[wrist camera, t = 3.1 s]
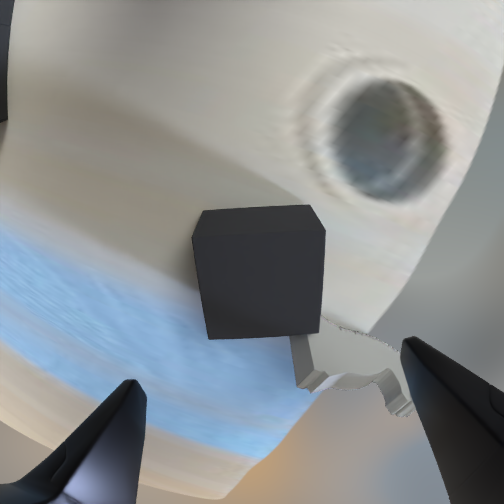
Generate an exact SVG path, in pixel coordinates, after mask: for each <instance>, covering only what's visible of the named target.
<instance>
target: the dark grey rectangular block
mask: <svg viewBox="0 0 504 504" xmlns="http://www.w3.org/2000/svg"><path fill="white" fill-rule="evenodd" d="M325 236H326V230H325V228H324V226H323V225H322V223H321V222H320V220H319V218H318V217H317V215H316V214H315V212H314V210H313V209H312V207H311V206H310V205H289V206H269V207H251V208H234V209H219V210H205V211H203V212H202V215H201V217H200V219H199V221H198V224H197V226H196V228H195V231H194V233H193V235H192V244H193V251H194V258H195V264H196V271H197V277H198V283H199V289H200V295H201V301H202V307H203V312H204V318H205V323H206V329H207V334H208V339H209V340H214V339H243V338H263V337H279V336H293V335H305V334H317V333H319V329H320V317H321V305H322V291H323V276H324V258H325Z"/></svg>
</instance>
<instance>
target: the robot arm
mask: <svg viewBox="0 0 504 504" xmlns="http://www.w3.org/2000/svg"><path fill="white" fill-rule="evenodd" d="M400 361H401V365H402V368H403V371H404V374H405V378H406V381H407V384H408V388H409V391H410V394H411V398H412V401H413V403H414V406H415V408H416V410H417V413H418V415H419V417H420V420H421V422H422V425H423V427H424V430H425V432H426V435H427V437H428V440H429V443H430V445H431V448H432V451H433V453H434V456H435V459H436V461H437V464H438V467H439V470H440V472H441V475H442V478H443V481H444V484H445V487H446V490H447V493H448V495H449V500H450V503H451V504H504V392H502V391H500V390H499V389H497V388H496V387H494V386H493V385H490V384H489V383H488V382H486V381H485V380H483V379H482V378H480V377H478V376H477V375H475V374H474V373H472V372H471V371H469V370H468V369H466V368H465V367H463V366H461V365H460V364H458V363H457V362H455V361H454V360H452V359H450V358H449V357H447V356H446V355H444V354H443V353H441V352H440V351H438V350H436V349H435V348H433V347H432V346H430V345H428V344H427V343H425V342H424V341H422V340H421V339H419V338H417V337H415V336H412V337H408V338H405V339H404V340H403V342H402V348H401V354H400ZM146 407H147V397H146V394H145V392H144V390H143V389H142V387H141V386H140V384H139V383H138V381H137V380H135V379H127V380H124V381H123V382H122V383H121V384H120V385H119V386H118V387H117V388H116V389H115V390H114V391H113V392H112V393H111V394H110V395H109V396H108V397H107V398H106V399H105V400H104V401H103V402H102V403H101V404H100V405H99V406H98V407H97V408H96V410H95V411H94V412H93V413H92V414H91V415H90V416H89V417H88V418H87V419H86V420H85V421H84V422H83V423H82V424H81V425H80V426H79V427H78V428H77V429H76V430H75V431H74V432H73V433H72V434H71V435H70V436H69V437H68V438H67V439H66V440H65V441H64V442H63V443H62V444H61V445H60V446H59V447H58V448H57V449H56V450H55V451H54V452H52V453H51V454H50V455H49V456H48V457H47V458H46V459H45V460H44V461H42V462H41V463H40V464H39V465H38V466H36V467H35V468H34V469H33V470H31V471H30V472H29V473H28V474H27V475H25V476H24V477H23V478H21V479H20V480H18V481H16V482H13V483H9V484H0V504H136V497H137V489H138V481H139V473H140V466H141V459H142V452H143V446H144V439H145V426H146Z"/></svg>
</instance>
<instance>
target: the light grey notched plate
mask: <svg viewBox="0 0 504 504" xmlns="http://www.w3.org/2000/svg"><path fill="white" fill-rule="evenodd" d="M289 337H290V344H291V350H292V357H293V364H294V371H295V378H296V385H297V387H298V388H301V389H305V388H307V389H308V390H309V392H310V393H315V392H318V391H322V390H326V389H329V388H333V389H338V390H356V389H360V388H363V387H365V386H367V385H369V384H370V383H371V382H374V383H376V384H377V385H378V387H379V388H380V390H381V392H382V394H383V396H384V399H385V406H386V408H387V409H388V411H389V412H390V413H391V415H394V414H396V416H398V417H404V416H405V415H406V417H408V416H409V415H410V414H411V413H412V412H413V411H414V410H416V408H415V406H414V403H413V401H412V398H411V394H410V391H409V388H408V384H407V381H406V378H405V374H404V371H403V368H402V365H401V361H400V354H401V353H400V352H398V351H396V350H395V349H394V348H393V347H392V348H391V346H390V345H387V344H386V343H385V342H384V343H383V342H382V341H381V340H378V339H377V338H374V337H373V336H372V337H371V336H370V335H369V336H368V335H367V334H364V333H361V334H360V333H359V332H358V331H357V332H356V331H350V330H349V329H348V330H346V329H343V328H342V327H338V326H337V325H335V324H333V323H331V322H329V321H328V320H327V319H325V318H324V317H323V316H322V315H321V317H320V329H319V333H317V334H305V335H293V336H289Z"/></svg>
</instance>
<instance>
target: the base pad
mask: <svg viewBox="0 0 504 504" xmlns="http://www.w3.org/2000/svg"><path fill="white" fill-rule="evenodd" d="M13 6H14V0H0V122H3V121H6V120H7V119H8V116H7V62H8V46H9V36H10V25H11V19H12V12H13Z"/></svg>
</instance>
